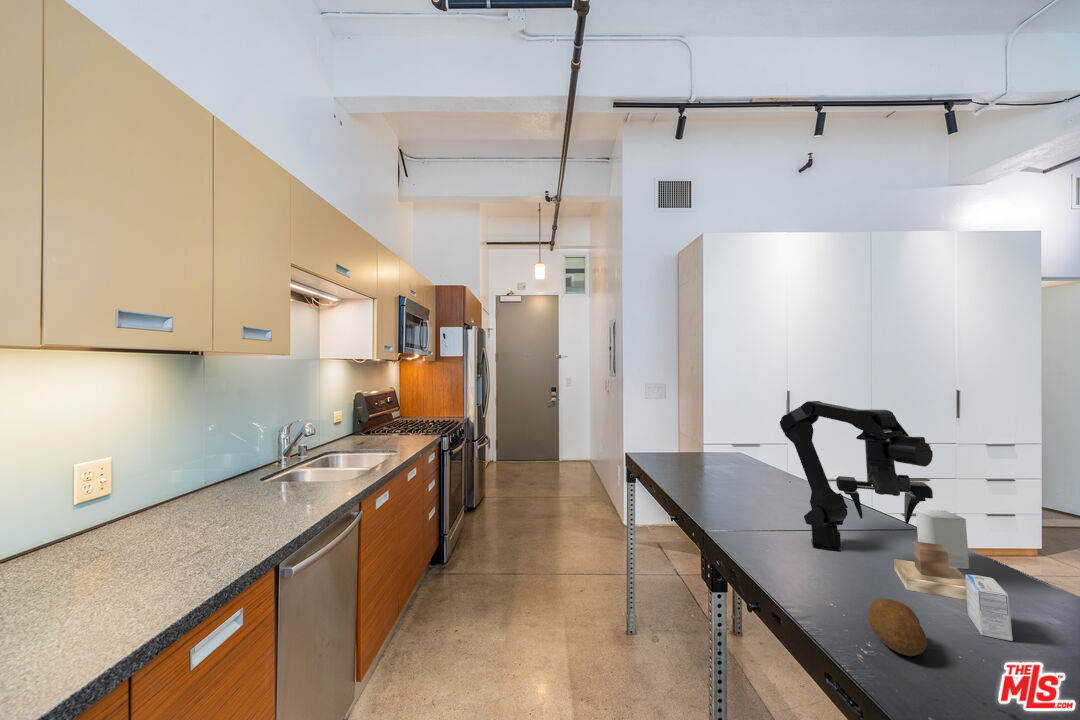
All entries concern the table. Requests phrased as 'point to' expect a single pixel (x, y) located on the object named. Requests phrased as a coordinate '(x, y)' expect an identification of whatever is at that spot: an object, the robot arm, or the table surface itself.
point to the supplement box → (945, 534)
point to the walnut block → (931, 559)
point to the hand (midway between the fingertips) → (883, 520)
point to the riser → (931, 581)
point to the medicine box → (988, 607)
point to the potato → (897, 626)
